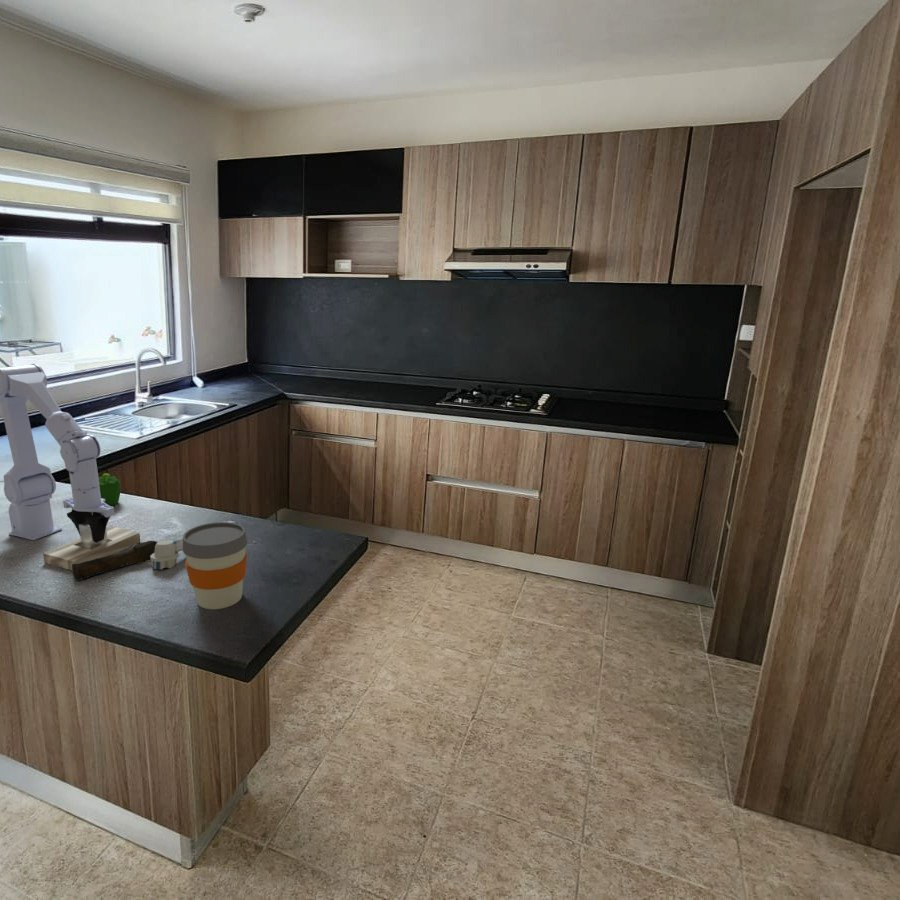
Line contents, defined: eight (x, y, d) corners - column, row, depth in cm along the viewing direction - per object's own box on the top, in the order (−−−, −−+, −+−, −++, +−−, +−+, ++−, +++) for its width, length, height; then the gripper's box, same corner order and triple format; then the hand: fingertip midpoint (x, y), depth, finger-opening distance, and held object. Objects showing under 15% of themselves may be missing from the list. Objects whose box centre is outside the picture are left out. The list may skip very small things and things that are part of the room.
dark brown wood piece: (77, 584, 131) (74, 565, 130) (72, 577, 134) (69, 559, 133) (166, 560, 144) (164, 542, 143) (160, 554, 147) (158, 537, 145)
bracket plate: (44, 563, 140) (43, 553, 139) (111, 534, 156) (110, 526, 155) (75, 571, 136) (73, 561, 136) (140, 541, 152) (139, 532, 152)
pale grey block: (81, 547, 145) (78, 524, 143) (96, 541, 148) (93, 518, 147) (93, 550, 143) (90, 527, 142) (108, 544, 147) (105, 521, 146)
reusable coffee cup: (231, 578, 135) (226, 517, 131) (262, 597, 128) (258, 533, 124) (176, 598, 126) (169, 533, 122) (206, 620, 118) (200, 551, 114)
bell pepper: (87, 503, 177) (82, 471, 174) (118, 497, 182) (114, 466, 179) (94, 512, 171) (89, 479, 168) (125, 505, 176) (121, 473, 173)
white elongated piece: (241, 521, 158) (161, 543, 135) (240, 545, 159) (161, 571, 136) (226, 517, 160) (145, 539, 137) (225, 541, 161) (145, 566, 138)
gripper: (122, 486, 143) (128, 538, 146) (79, 477, 148) (86, 528, 151) (96, 495, 136) (103, 549, 140) (51, 485, 141) (60, 538, 145)
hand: (92, 539), depth 145 cm, fingers closed on pale grey block, 4 cm apart
